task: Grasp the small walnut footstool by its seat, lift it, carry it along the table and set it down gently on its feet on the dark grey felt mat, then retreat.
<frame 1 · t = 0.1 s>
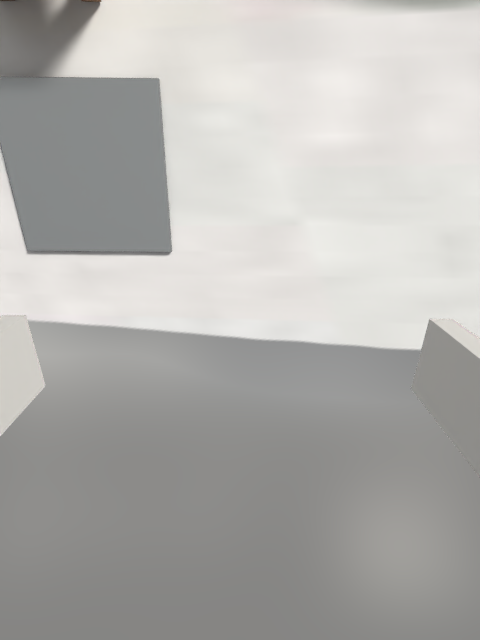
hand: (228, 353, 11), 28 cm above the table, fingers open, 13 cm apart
mat: (88, 172, 34), on the table
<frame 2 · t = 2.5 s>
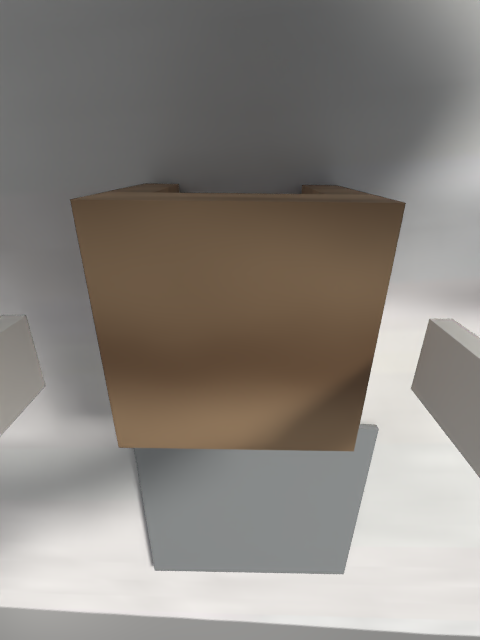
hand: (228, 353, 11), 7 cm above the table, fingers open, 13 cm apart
stool: (239, 276, 18), on the table
mat: (250, 504, 25), on the table
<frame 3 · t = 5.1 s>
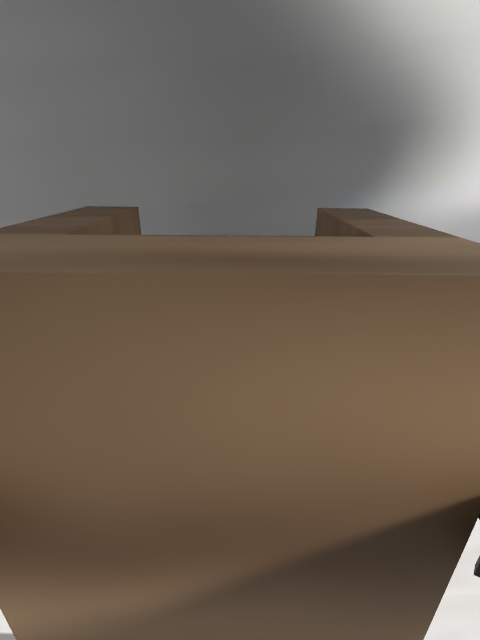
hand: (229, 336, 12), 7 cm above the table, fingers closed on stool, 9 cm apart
stool: (228, 332, 13), point 6 cm above the table, touching gripper
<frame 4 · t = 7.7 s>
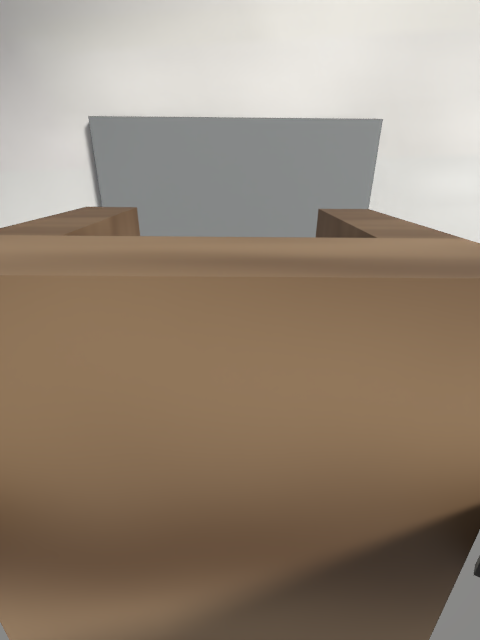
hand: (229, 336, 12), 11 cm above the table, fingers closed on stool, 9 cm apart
stool: (228, 333, 13), point 10 cm above the table, touching gripper
mat: (235, 260, 22), on the table
when the fingers open (1 cm above the table, at t = 10.2 s): stool stays where it is, resting on mat.
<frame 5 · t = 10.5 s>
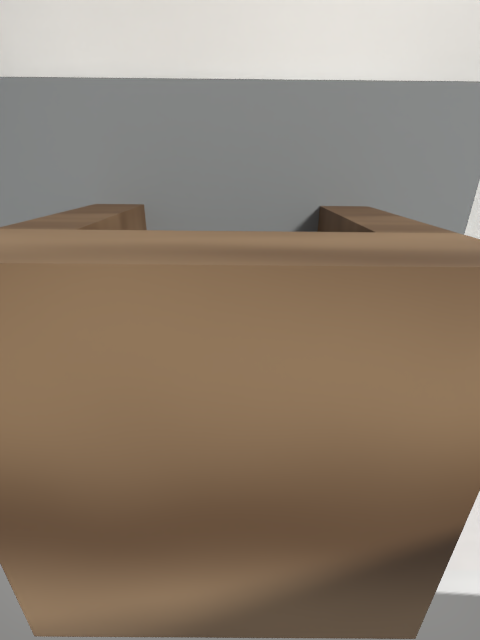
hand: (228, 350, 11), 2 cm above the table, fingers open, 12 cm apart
stool: (232, 328, 13), resting on mat
mat: (230, 325, 13), on the table
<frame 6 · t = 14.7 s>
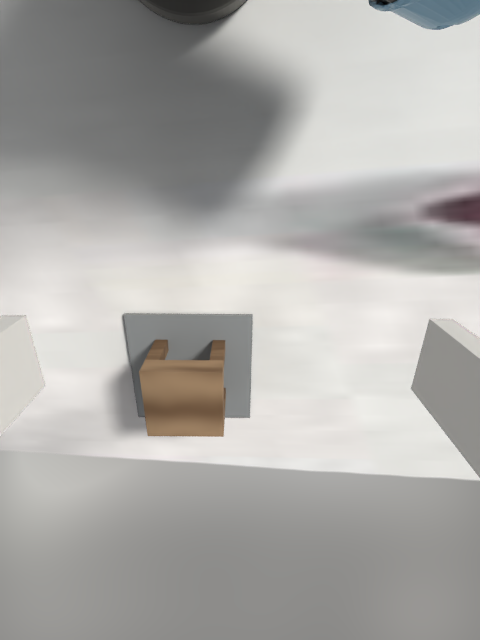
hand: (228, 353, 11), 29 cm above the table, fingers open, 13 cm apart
stool: (192, 369, 45), resting on mat
mat: (191, 368, 45), on the table
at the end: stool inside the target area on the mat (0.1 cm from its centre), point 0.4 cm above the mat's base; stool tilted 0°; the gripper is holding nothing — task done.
